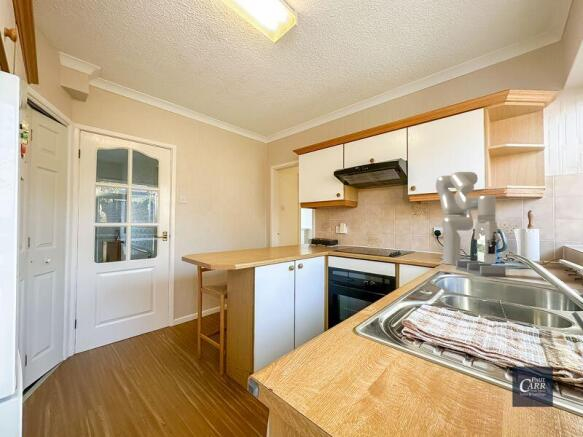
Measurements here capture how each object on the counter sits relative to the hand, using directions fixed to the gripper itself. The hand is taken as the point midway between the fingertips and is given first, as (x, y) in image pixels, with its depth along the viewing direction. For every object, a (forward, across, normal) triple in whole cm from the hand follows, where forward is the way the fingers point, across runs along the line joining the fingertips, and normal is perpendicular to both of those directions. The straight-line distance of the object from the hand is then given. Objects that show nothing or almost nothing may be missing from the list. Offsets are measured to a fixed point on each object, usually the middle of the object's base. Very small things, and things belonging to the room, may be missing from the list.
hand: (486, 252), depth 128 cm
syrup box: (+5, 0, 0) cm, 5 cm away
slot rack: (+11, -4, 0) cm, 12 cm away
